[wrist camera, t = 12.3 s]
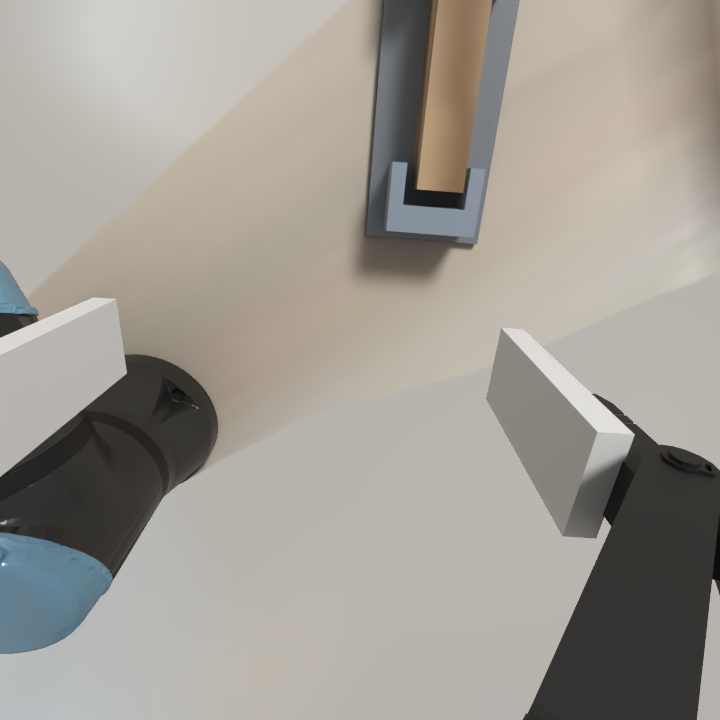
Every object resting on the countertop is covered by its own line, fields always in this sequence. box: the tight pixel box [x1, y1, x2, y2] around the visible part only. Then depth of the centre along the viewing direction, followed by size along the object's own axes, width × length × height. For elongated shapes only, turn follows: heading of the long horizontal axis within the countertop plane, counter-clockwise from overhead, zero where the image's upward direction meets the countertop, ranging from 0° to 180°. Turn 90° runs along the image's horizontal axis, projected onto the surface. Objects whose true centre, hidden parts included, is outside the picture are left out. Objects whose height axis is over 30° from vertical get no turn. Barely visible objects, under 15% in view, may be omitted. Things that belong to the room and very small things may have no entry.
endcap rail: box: [366, 0, 519, 244], centre depth 32 cm, size 10×24×5 cm, turn 176°
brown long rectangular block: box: [410, 0, 492, 193], centre depth 32 cm, size 4×16×5 cm, turn 176°
